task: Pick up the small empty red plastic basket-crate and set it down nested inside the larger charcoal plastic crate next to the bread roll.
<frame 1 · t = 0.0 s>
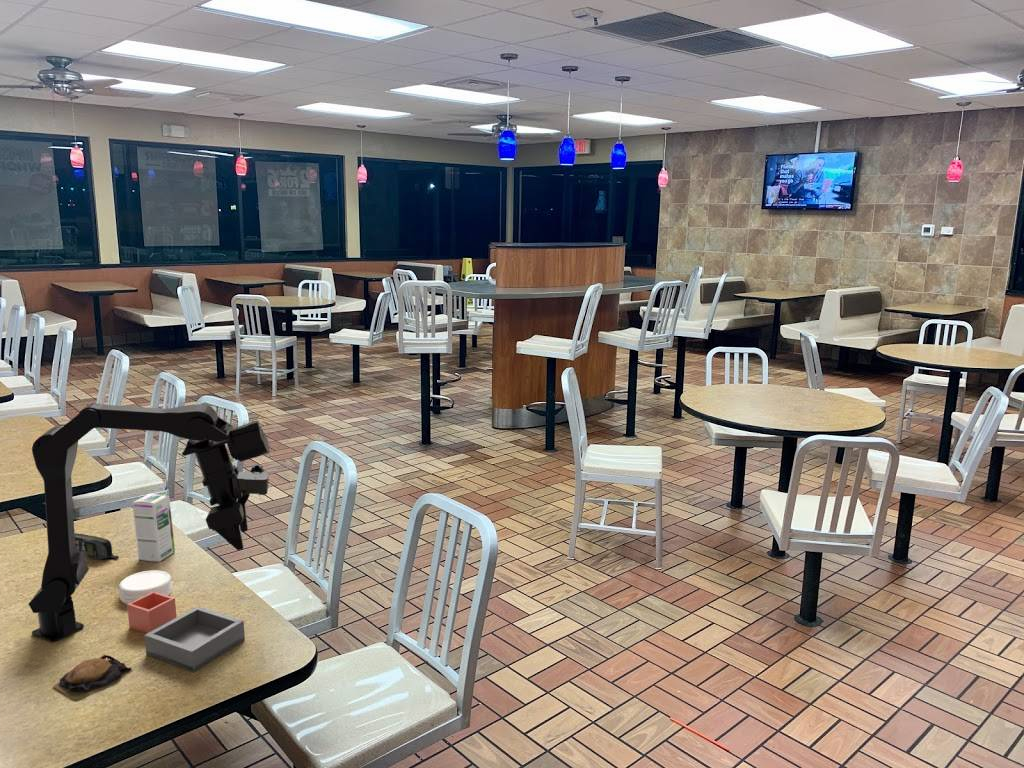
hand: (243, 540, 152), 15 cm above the table, tool pointing down, fingers open, 9 cm apart
syrup box: (156, 556, 181), on the table
big crate: (196, 647, 142), on the table
white round container: (146, 596, 162), on the table
mobile phone: (90, 557, 181), on the table
small crate: (153, 624, 150), on the table
bread roll: (94, 682, 132), on the table
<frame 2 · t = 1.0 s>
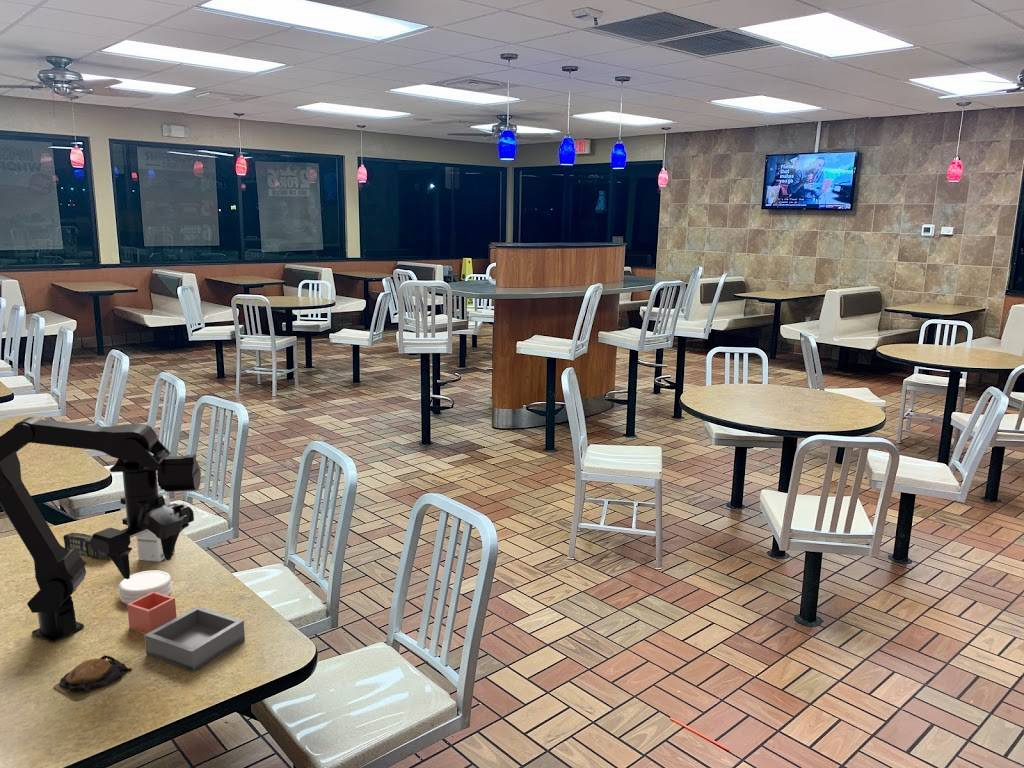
hand: (148, 569, 148), 12 cm above the table, tool pointing down, fingers open, 9 cm apart
nothing on the table moved.
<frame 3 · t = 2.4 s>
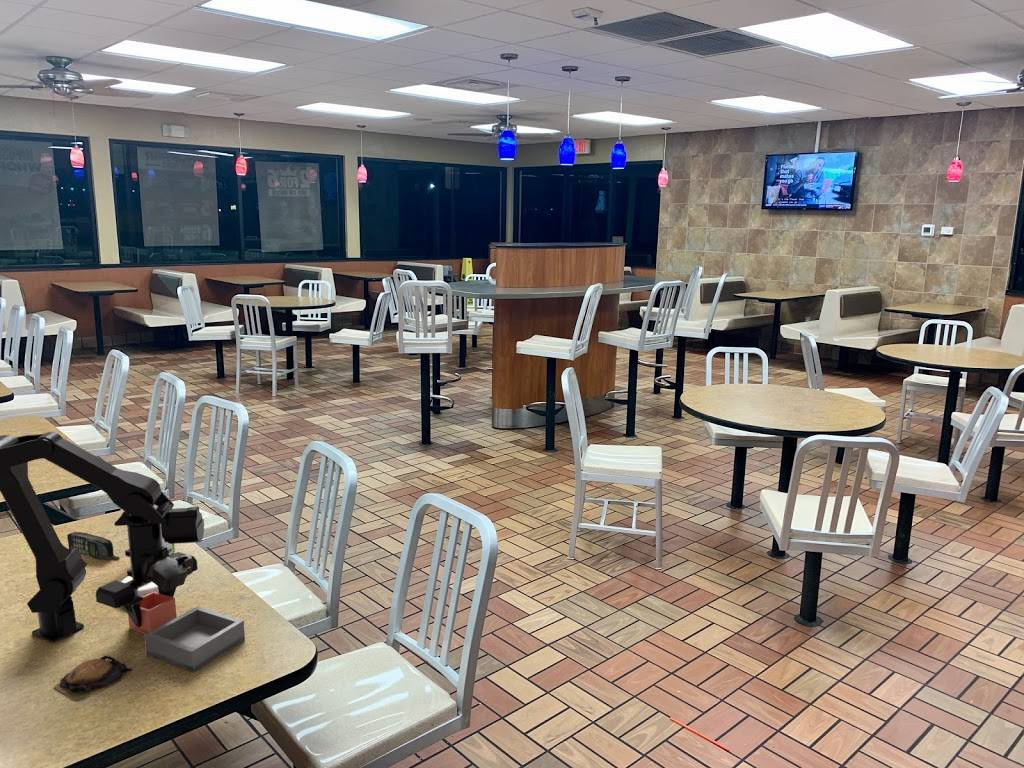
hand: (152, 618, 150), 1 cm above the table, tool pointing down, fingers closed on small crate, 6 cm apart
small crate: (153, 624, 150), on the table, touching gripper
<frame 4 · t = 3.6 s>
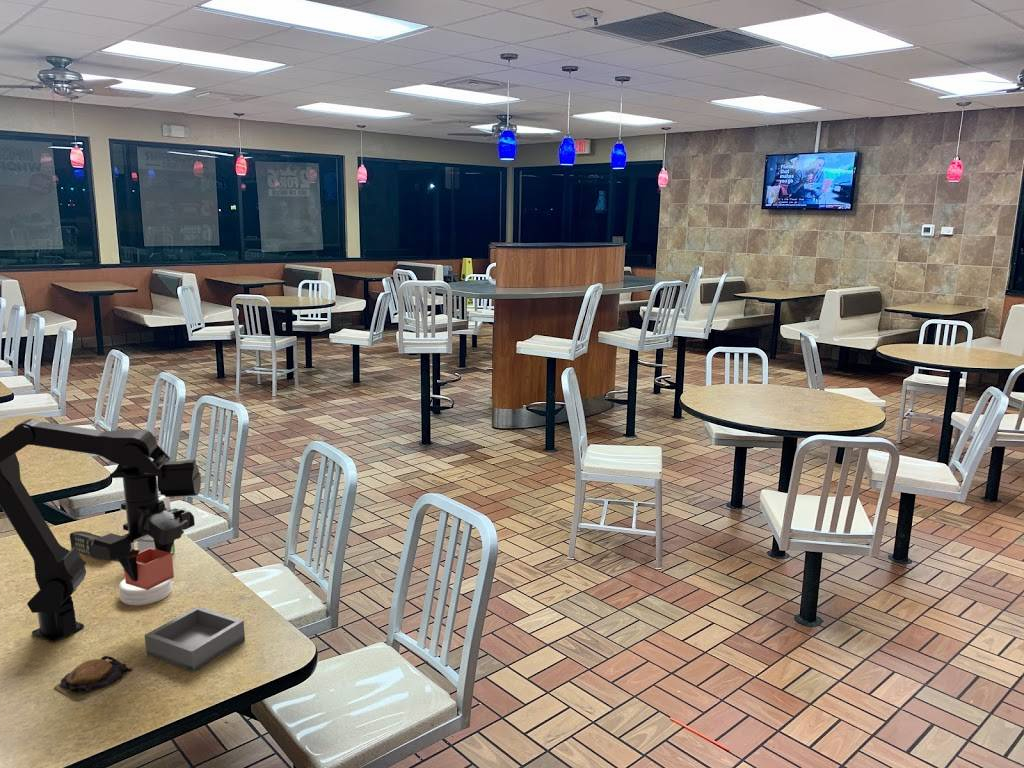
hand: (149, 574, 148), 11 cm above the table, tool pointing down, fingers closed on small crate, 6 cm apart
small crate: (150, 580, 148), point 9 cm above the table, touching gripper
everything else where it was.
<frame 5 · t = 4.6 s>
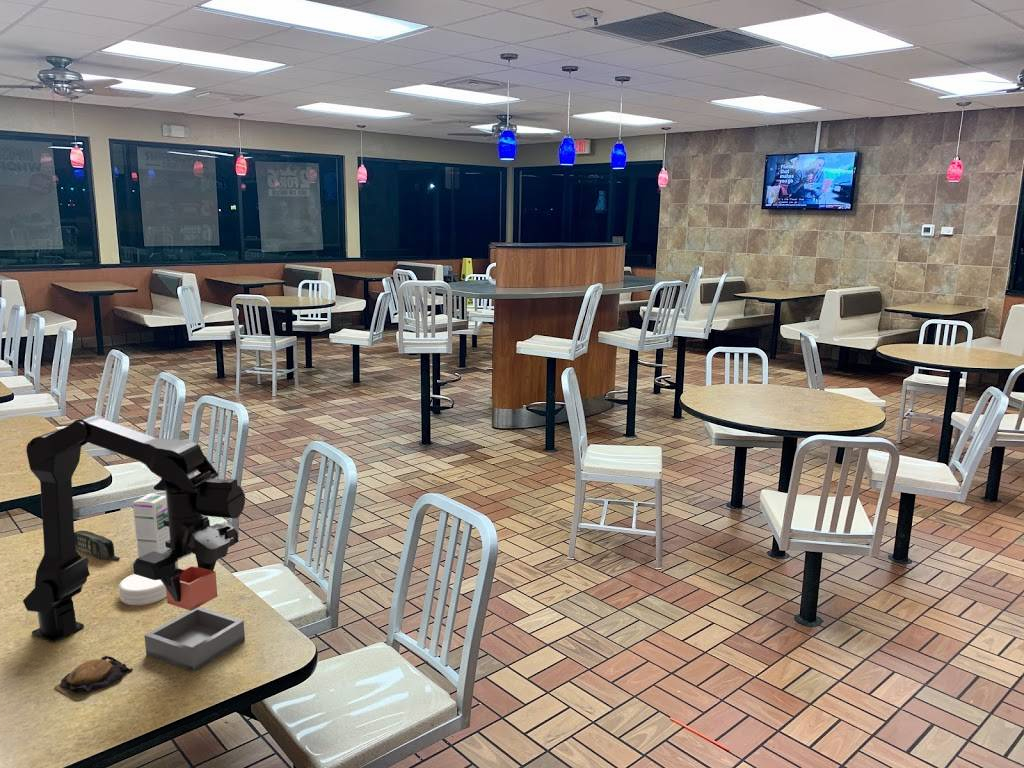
hand: (192, 593, 140), 11 cm above the table, tool pointing down, fingers closed on small crate, 6 cm apart
small crate: (192, 599, 140), point 10 cm above the table, touching gripper
when the fingers open (5 cm above the table, at t = 6.0 s): small crate drops 3 cm, resting on big crate.
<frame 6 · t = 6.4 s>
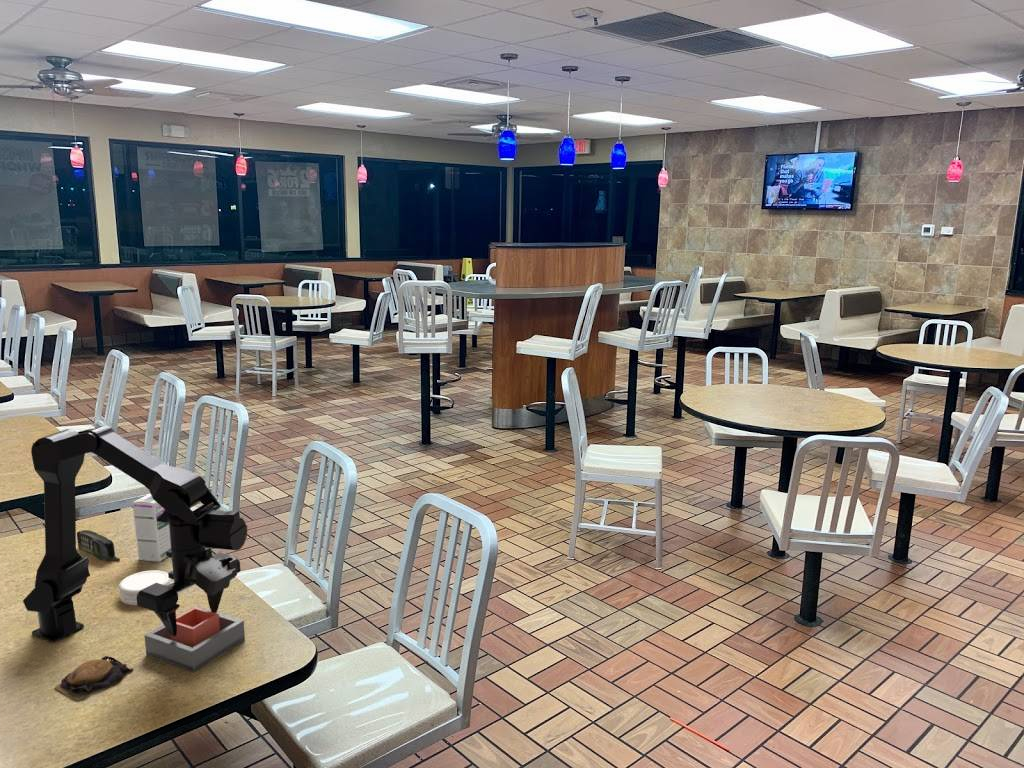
hand: (194, 623, 141), 5 cm above the table, tool pointing down, fingers open, 9 cm apart
small crate: (196, 642, 142), point 1 cm above the table, touching big crate
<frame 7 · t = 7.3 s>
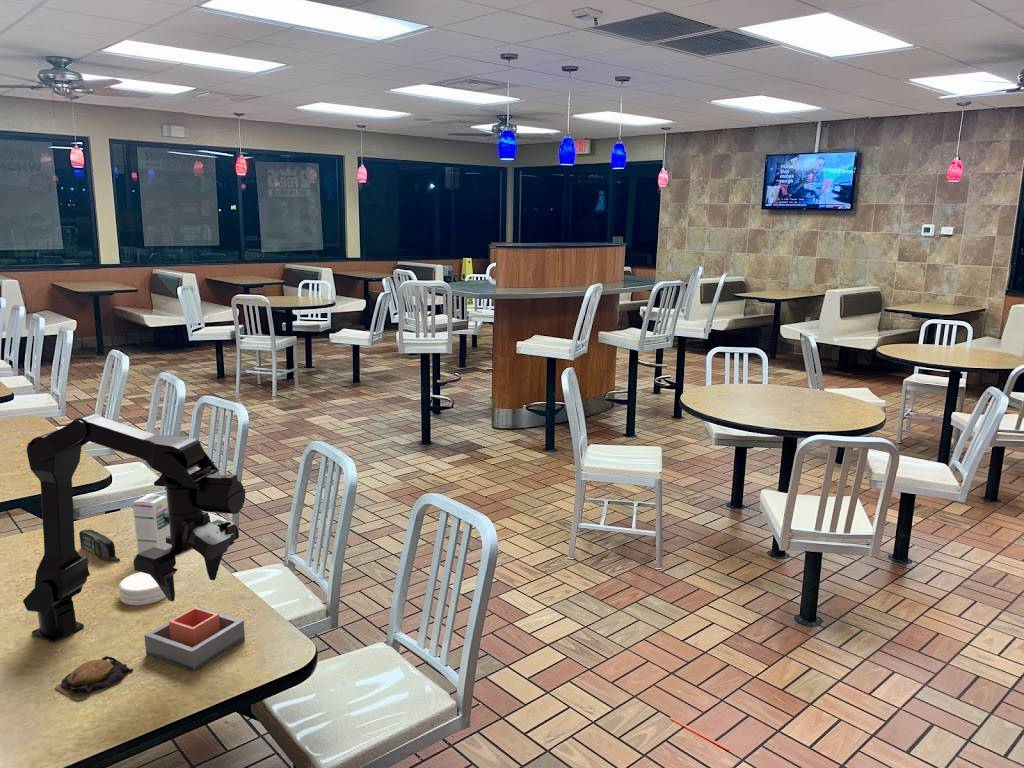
hand: (192, 590, 140), 12 cm above the table, tool pointing down, fingers open, 9 cm apart
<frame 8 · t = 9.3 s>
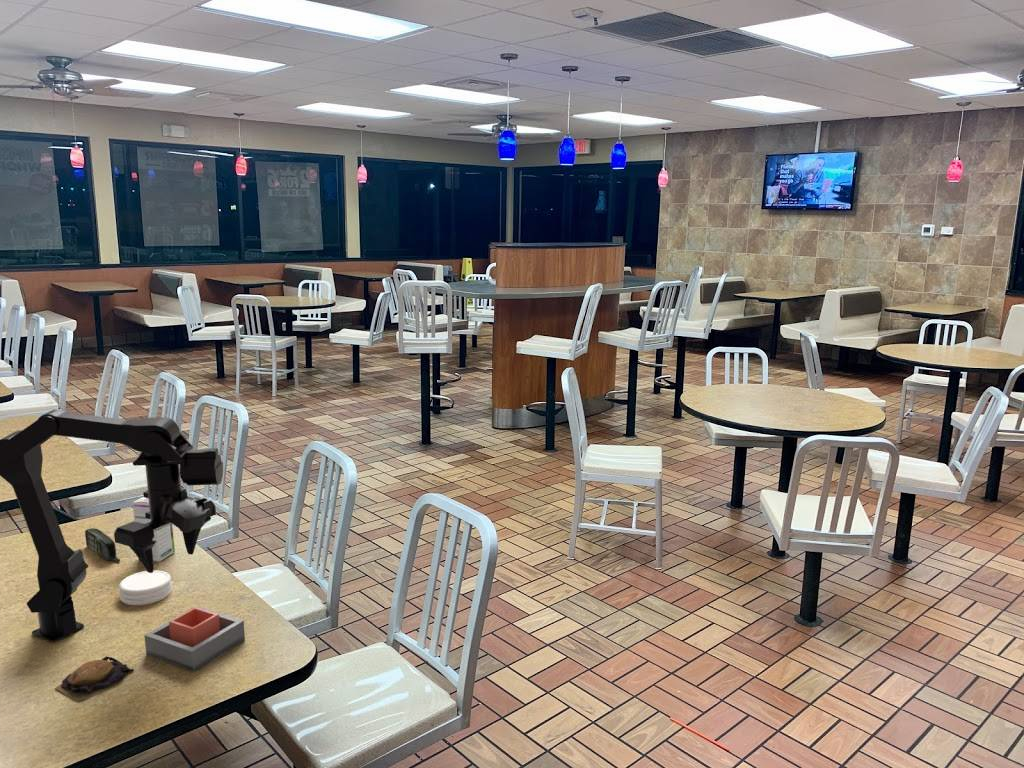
hand: (171, 563, 147), 13 cm above the table, tool pointing down, fingers open, 9 cm apart
at the end: small crate 0.0 cm off-centre on the big crate, point 1.0 cm above the big crate's base; small crate tilted 0°; the gripper is holding nothing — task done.
